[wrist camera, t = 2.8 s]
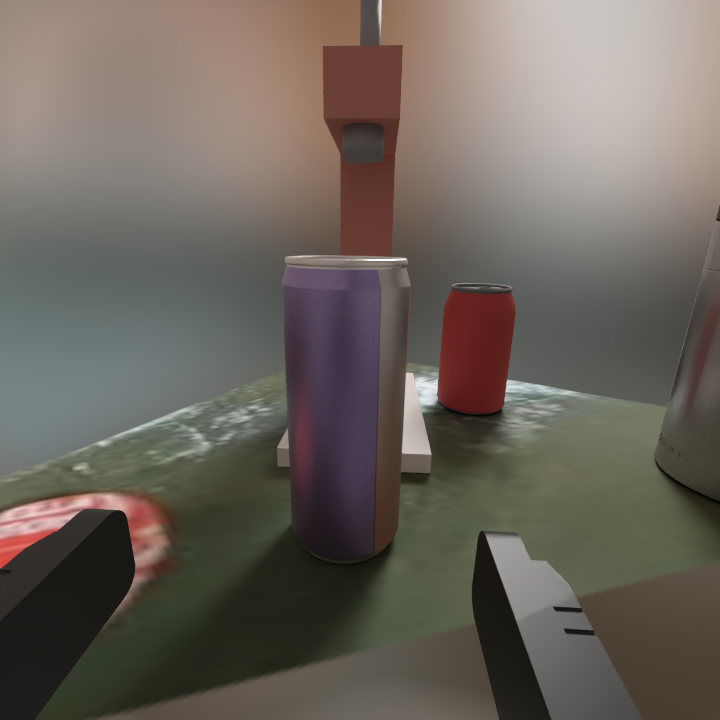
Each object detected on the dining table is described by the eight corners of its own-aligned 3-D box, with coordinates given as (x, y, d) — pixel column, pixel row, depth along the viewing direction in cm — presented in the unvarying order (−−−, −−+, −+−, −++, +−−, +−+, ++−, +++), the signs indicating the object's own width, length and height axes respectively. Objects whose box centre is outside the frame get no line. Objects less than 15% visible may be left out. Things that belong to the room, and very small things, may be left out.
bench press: (412, 385, 45) (435, -37, 34) (430, 473, 28) (491, -332, 16) (317, 382, 45) (310, -34, 34) (277, 466, 28) (235, -317, 17)
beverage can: (318, 589, 18) (311, 260, 14) (278, 514, 23) (263, 255, 19) (419, 544, 21) (439, 259, 17) (364, 486, 26) (368, 255, 22)
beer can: (508, 421, 36) (525, 291, 33) (436, 414, 37) (445, 288, 34) (498, 395, 42) (512, 284, 39) (437, 390, 43) (445, 281, 40)
